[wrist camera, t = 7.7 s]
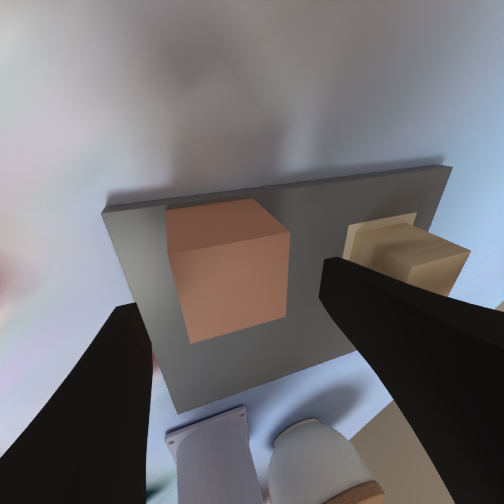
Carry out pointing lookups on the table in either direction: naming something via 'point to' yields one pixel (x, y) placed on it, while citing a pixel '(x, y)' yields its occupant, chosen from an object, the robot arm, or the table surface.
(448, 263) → the maple block
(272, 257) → the terracotta block
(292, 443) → the lidded bowl
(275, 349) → the plate
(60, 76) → the table surface
